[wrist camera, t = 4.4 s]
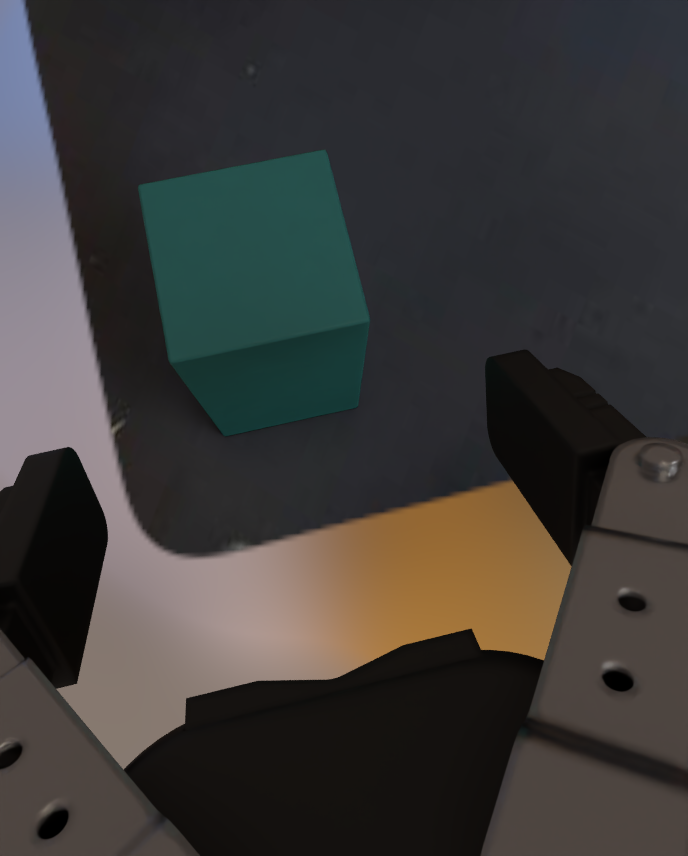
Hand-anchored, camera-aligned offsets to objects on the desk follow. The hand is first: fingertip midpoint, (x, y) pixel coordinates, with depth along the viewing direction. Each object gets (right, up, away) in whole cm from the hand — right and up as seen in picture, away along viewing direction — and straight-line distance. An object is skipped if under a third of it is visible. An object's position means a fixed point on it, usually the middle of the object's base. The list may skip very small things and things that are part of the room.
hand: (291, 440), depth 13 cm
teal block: (-1, +3, +11) cm, 12 cm away
